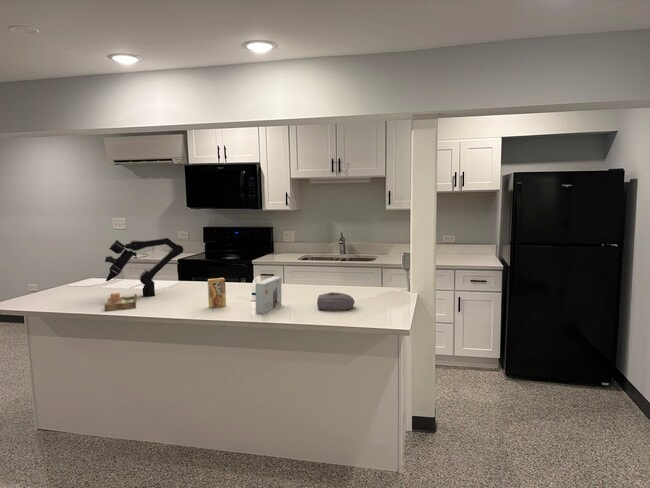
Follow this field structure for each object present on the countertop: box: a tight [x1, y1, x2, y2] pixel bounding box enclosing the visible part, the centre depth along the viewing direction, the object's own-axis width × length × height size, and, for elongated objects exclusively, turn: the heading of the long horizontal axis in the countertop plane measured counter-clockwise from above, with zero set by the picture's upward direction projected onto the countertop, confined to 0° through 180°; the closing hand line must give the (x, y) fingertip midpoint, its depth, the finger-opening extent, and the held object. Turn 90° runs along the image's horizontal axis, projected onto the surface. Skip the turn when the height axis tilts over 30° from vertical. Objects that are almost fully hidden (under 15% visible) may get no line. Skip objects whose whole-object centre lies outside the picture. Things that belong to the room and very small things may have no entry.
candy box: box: [207, 277, 227, 309], centre depth 247 cm, size 9×4×15 cm, turn 116°
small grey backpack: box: [316, 292, 355, 311], centre depth 240 cm, size 15×8×20 cm
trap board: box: [104, 293, 138, 312], centre depth 255 cm, size 15×23×3 cm, turn 21°
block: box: [109, 292, 121, 301], centre depth 260 cm, size 5×5×3 cm
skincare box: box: [255, 275, 283, 315], centre depth 240 cm, size 21×5×16 cm, turn 160°
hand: (107, 280), depth 265 cm, fingers open, 9 cm apart
